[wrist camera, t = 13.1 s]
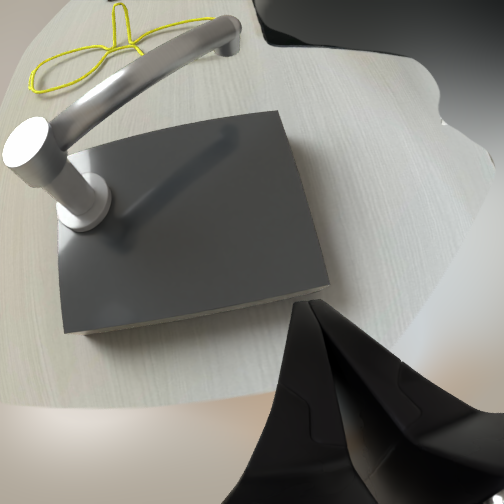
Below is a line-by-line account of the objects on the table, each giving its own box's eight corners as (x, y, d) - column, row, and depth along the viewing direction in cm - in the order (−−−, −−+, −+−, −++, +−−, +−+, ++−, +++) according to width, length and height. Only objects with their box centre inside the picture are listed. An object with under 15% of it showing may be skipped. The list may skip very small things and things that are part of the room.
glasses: (25, 106, 27) (7, 82, 22) (43, 57, 29) (30, 34, 25) (231, 54, 29) (231, 19, 24) (221, 12, 31) (220, -17, 27)
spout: (43, 206, 15) (10, 179, 12) (26, 174, 16) (-3, 146, 12) (253, 53, 19) (255, 14, 15) (222, 36, 19) (221, -1, 16)
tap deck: (318, 291, 23) (363, 263, 14) (83, 335, 21) (13, 328, 12) (274, 131, 26) (286, 57, 18) (75, 174, 24) (28, 117, 16)
